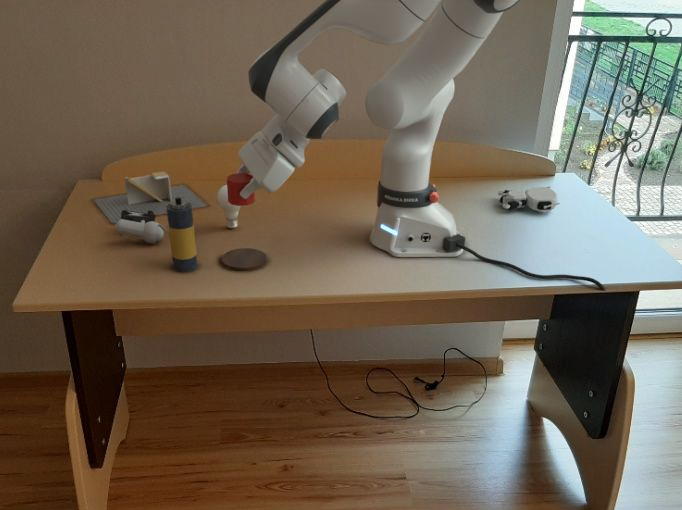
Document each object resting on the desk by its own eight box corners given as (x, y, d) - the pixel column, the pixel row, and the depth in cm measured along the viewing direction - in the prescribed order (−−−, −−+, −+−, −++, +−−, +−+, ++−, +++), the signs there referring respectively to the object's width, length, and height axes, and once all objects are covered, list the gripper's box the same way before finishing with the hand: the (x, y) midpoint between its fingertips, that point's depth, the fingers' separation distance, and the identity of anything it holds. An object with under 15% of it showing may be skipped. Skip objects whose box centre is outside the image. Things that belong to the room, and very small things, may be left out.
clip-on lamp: (195, 238, 171) (120, 223, 167) (199, 213, 168) (123, 198, 164) (191, 254, 160) (111, 239, 157) (195, 229, 157) (114, 212, 154)
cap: (256, 196, 148) (255, 173, 145) (251, 206, 144) (250, 183, 141) (231, 195, 149) (230, 172, 146) (225, 205, 144) (223, 181, 141)
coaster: (270, 252, 158) (270, 249, 158) (261, 272, 150) (261, 269, 149) (228, 249, 159) (227, 246, 158) (216, 269, 151) (216, 265, 150)
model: (172, 201, 182) (168, 173, 178) (132, 208, 178) (128, 179, 173) (167, 197, 185) (164, 169, 180) (128, 204, 180) (124, 175, 176)
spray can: (200, 262, 153) (194, 194, 144) (193, 273, 149) (186, 203, 140) (177, 260, 154) (169, 192, 145) (169, 271, 149) (161, 201, 141)
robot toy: (502, 218, 181) (560, 217, 180) (503, 202, 178) (562, 200, 177) (495, 201, 191) (550, 199, 190) (497, 185, 188) (552, 183, 187)
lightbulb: (214, 229, 168) (210, 186, 162) (229, 221, 173) (226, 178, 166) (235, 235, 165) (233, 191, 159) (250, 226, 170) (248, 183, 164)
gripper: (258, 116, 148) (216, 164, 151) (285, 144, 132) (237, 198, 135) (279, 135, 152) (238, 182, 154) (307, 165, 136) (260, 217, 139)
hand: (238, 190), depth 145 cm, fingers closed on cap, 5 cm apart
